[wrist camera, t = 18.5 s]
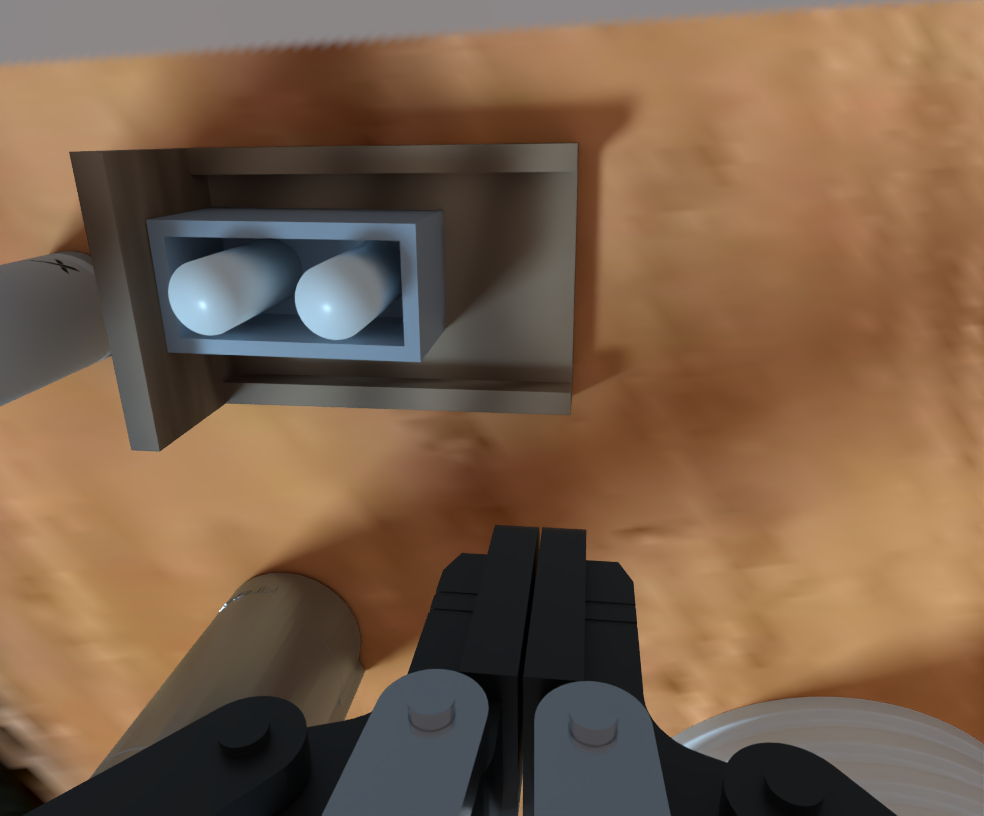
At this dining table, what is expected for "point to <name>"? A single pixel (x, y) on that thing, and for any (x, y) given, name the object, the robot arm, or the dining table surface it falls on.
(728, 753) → the plate stack
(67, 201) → the dining table surface
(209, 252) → the caddy
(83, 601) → the dining table surface
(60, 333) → the travel mug
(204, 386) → the shelf
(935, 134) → the dining table surface
